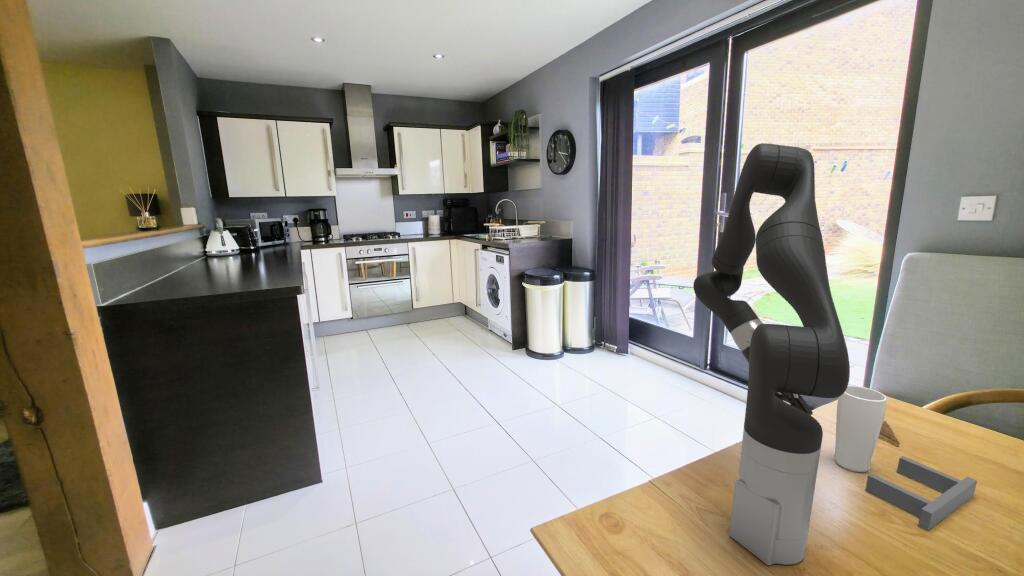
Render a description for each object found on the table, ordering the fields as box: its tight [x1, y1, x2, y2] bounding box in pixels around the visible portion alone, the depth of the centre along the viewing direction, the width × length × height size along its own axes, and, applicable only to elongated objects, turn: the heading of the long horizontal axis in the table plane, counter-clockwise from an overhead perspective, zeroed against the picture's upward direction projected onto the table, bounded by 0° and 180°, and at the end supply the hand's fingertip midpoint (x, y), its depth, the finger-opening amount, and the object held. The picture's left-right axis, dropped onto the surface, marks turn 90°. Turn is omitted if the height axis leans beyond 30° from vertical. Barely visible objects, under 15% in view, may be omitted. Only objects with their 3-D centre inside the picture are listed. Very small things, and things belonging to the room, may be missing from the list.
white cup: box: [833, 384, 888, 473], centre depth 77 cm, size 7×7×15 cm
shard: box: [878, 420, 901, 447], centre depth 90 cm, size 11×8×2 cm
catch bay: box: [864, 455, 978, 531], centre depth 70 cm, size 17×9×3 cm, turn 116°
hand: (807, 416), depth 85 cm, fingers closed
